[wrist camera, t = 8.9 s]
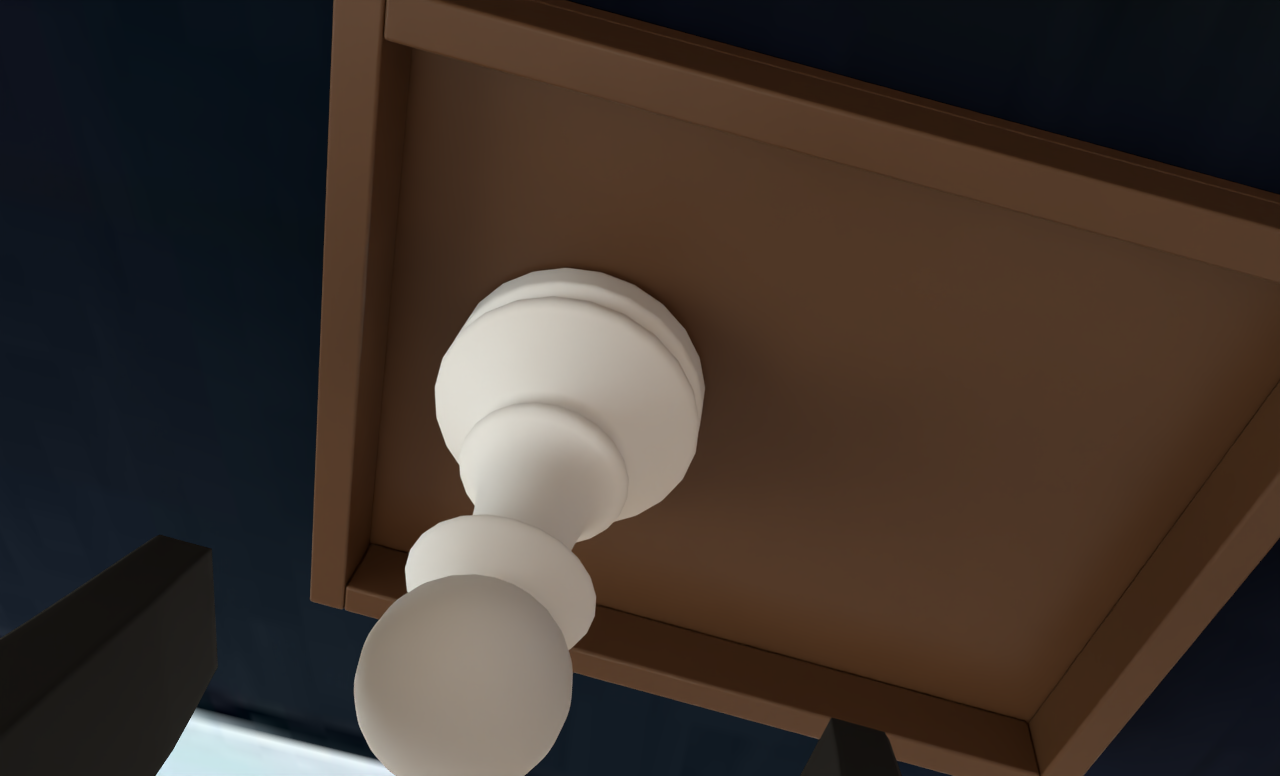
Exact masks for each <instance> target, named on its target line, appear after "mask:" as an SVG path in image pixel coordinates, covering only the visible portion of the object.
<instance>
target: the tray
mask: <svg viewBox="0 0 1280 776" xmlns="http://www.w3.org/2000/svg"><path fill="white" fill-rule="evenodd" d="M560 268H573V269H581V270H588V271H596V272H602V273H605V274H607V275H610V276H613V277H615V278H618V279H620V280H623V281H626V282H628V283H631V284H634V285H635V286H637V287H638V288H640V289H641V290H643V291H644V292H646V293H647V294H649V295H650V296H651V297H653V298H654V299H656V300H657V301H659V302H660V303H662V304H663V305H664V306H665V307H666V308H667V309H668V311H669V312H670V313H671V314H672V315H673V316H674V317H675V318H676V319H677V321H678V322H679V323H680V324H681V325H682V326H683V327H684V328H685V330H686V332H687V334H688V336H689V338H690V340H691V342H692V344H693V346H694V348H695V350H696V352H697V354H698V356H699V358H700V362H701V368H702V374H703V379H704V385H705V392H704V400H703V408H702V415H701V422H700V428H699V432H698V439H697V447H696V453H695V455H694V457H693V459H692V461H691V463H690V465H689V467H688V470H687V472H686V474H685V476H684V478H683V479H682V481H681V482H680V483H679V484H678V485H677V486H676V487H675V488H674V489H673V490H672V491H671V492H670V493H669V494H668V495H667V496H666V497H665V498H664V499H663V500H662V501H661V502H659V503H657V504H656V505H654V506H652V507H650V508H649V509H647V510H645V511H643V512H642V513H640V514H638V515H636V516H633V517H630V518H626V519H623V520H619V521H615V522H613V523H612V524H611V525H610V526H609V527H608V528H607V529H606V530H604V531H603V532H601V533H599V534H597V535H596V536H594V537H592V538H591V539H587V540H583V541H580V542H576V543H575V545H574V546H573V549H572V551H571V552H573V553H574V554H575V555H576V556H577V557H578V558H579V560H580V561H581V563H582V564H583V566H584V568H585V569H586V571H587V572H588V574H589V575H590V577H591V580H592V584H593V587H594V591H595V594H596V607H595V617H594V619H593V621H592V623H591V625H590V627H589V630H588V632H587V633H586V635H585V636H583V637H582V638H581V639H580V640H579V641H578V642H577V643H576V644H575V645H574V646H573V647H572V648H571V649H570V650H569V654H570V657H571V661H572V669H573V672H574V673H578V674H582V675H585V676H589V677H593V678H596V679H600V680H604V681H607V682H611V683H615V684H618V685H622V686H626V687H629V688H633V689H637V690H640V691H644V692H648V693H652V694H655V695H659V696H663V697H666V698H670V699H674V700H677V701H681V702H685V703H688V704H692V705H696V706H699V707H703V708H707V709H710V710H714V711H718V712H721V713H725V714H729V715H732V716H736V717H740V718H743V719H747V720H751V721H754V722H758V723H762V724H765V725H769V726H773V727H776V728H780V729H784V730H787V731H791V732H795V733H798V734H802V735H806V736H809V737H813V738H817V739H820V738H821V736H822V734H823V732H824V730H825V728H826V727H827V725H828V723H829V721H830V719H831V717H832V718H836V719H840V720H843V721H847V722H851V723H854V724H858V725H862V726H865V727H869V728H873V729H877V730H880V731H884V732H885V734H886V735H887V737H888V739H889V740H890V743H891V746H892V749H893V752H894V755H895V758H896V760H898V761H901V762H905V763H909V764H912V765H916V766H920V767H923V768H927V769H931V770H934V771H938V772H942V773H945V774H949V775H953V776H1083V775H1084V774H1085V773H1086V772H1087V771H1088V769H1089V768H1090V767H1091V766H1092V765H1093V763H1094V762H1095V761H1096V760H1097V758H1098V757H1099V756H1100V755H1101V754H1102V752H1103V751H1104V750H1105V749H1106V748H1107V746H1108V745H1109V744H1110V743H1111V742H1112V740H1113V739H1114V738H1115V737H1116V735H1117V734H1118V733H1119V732H1120V731H1121V729H1122V728H1123V727H1124V726H1125V725H1126V723H1127V722H1128V721H1129V720H1130V719H1131V717H1132V716H1133V715H1134V714H1135V712H1136V711H1137V710H1138V709H1139V708H1140V706H1141V705H1142V704H1143V703H1144V702H1145V700H1146V699H1147V698H1148V697H1149V696H1150V694H1151V693H1152V692H1153V691H1154V689H1155V688H1156V687H1157V686H1158V685H1159V683H1160V682H1161V681H1162V680H1163V679H1164V677H1165V676H1166V675H1167V674H1168V673H1169V671H1170V670H1171V669H1172V668H1173V666H1174V665H1175V664H1176V663H1177V662H1178V660H1179V659H1180V658H1181V657H1182V656H1183V654H1184V653H1185V652H1186V651H1187V650H1188V648H1189V647H1190V646H1191V645H1192V643H1193V642H1194V641H1195V640H1196V639H1197V637H1198V636H1199V635H1200V634H1201V633H1202V631H1203V630H1204V629H1205V628H1206V627H1207V625H1208V624H1209V623H1210V622H1211V620H1212V619H1213V618H1214V617H1215V616H1216V614H1217V613H1218V612H1219V611H1220V610H1221V608H1222V607H1223V606H1224V605H1225V604H1226V602H1227V601H1228V600H1229V599H1230V597H1231V596H1232V595H1233V594H1234V593H1235V591H1236V590H1237V589H1238V588H1239V587H1240V585H1241V584H1242V583H1243V582H1244V581H1245V579H1246V578H1247V577H1248V576H1249V574H1250V573H1251V572H1252V571H1253V570H1254V568H1255V567H1256V566H1257V565H1258V564H1259V562H1260V561H1261V560H1262V559H1263V558H1264V556H1265V555H1266V554H1267V553H1268V551H1269V550H1270V549H1271V548H1272V547H1273V545H1274V544H1275V543H1276V542H1277V541H1278V539H1279V538H1280V195H1279V194H1275V193H1271V192H1268V191H1264V190H1260V189H1257V188H1253V187H1249V186H1246V185H1242V184H1238V183H1235V182H1231V181H1227V180H1223V179H1220V178H1216V177H1212V176H1209V175H1205V174H1201V173H1198V172H1194V171H1190V170H1187V169H1183V168H1179V167H1176V166H1172V165H1168V164H1165V163H1161V162H1157V161H1154V160H1150V159H1146V158H1143V157H1139V156H1135V155H1132V154H1128V153H1124V152H1121V151H1117V150H1113V149H1110V148H1106V147H1102V146H1099V145H1095V144H1091V143H1088V142H1084V141H1080V140H1077V139H1073V138H1069V137H1066V136H1062V135H1058V134H1055V133H1051V132H1047V131H1044V130H1040V129H1036V128H1033V127H1029V126H1025V125H1022V124H1018V123H1014V122H1011V121H1007V120H1003V119H1000V118H996V117H992V116H988V115H985V114H981V113H977V112H974V111H970V110H966V109H963V108H959V107H955V106H952V105H948V104H944V103H941V102H937V101H933V100H930V99H926V98H922V97H919V96H915V95H911V94H908V93H904V92H900V91H897V90H893V89H889V88H886V87H882V86H878V85H875V84H871V83H867V82H864V81H860V80H856V79H853V78H849V77H845V76H842V75H838V74H834V73H831V72H827V71H823V70H820V69H816V68H812V67H809V66H805V65H801V64H798V63H794V62H790V61H787V60H783V59H779V58H776V57H772V56H768V55H765V54H761V53H757V52H753V51H750V50H746V49H742V48H739V47H735V46H731V45H728V44H724V43H720V42H717V41H713V40H709V39H706V38H702V37H698V36H695V35H691V34H687V33H684V32H680V31H676V30H673V29H669V28H665V27H662V26H658V25H654V24H651V23H647V22H643V21H640V20H636V19H632V18H629V17H625V16H621V15H618V14H614V13H610V12H607V11H603V10H599V9H596V8H592V7H588V6H585V5H581V4H577V3H574V2H570V1H566V0H334V3H333V28H332V54H331V79H330V105H329V130H328V156H327V181H326V207H325V233H324V258H323V284H322V309H321V335H320V360H319V386H318V411H317V437H316V462H315V488H314V513H313V539H312V564H311V590H310V600H311V601H312V602H316V603H319V604H323V605H327V606H331V607H334V608H338V609H343V608H344V607H345V610H347V611H350V612H354V613H358V614H361V615H365V616H369V617H372V618H376V619H380V618H381V617H382V616H383V614H384V613H385V612H386V610H387V609H388V608H389V607H390V606H391V605H392V604H393V603H394V602H395V601H396V600H397V599H399V598H400V597H402V596H403V595H405V594H406V593H408V592H407V586H406V575H405V566H406V563H407V559H408V556H409V552H410V549H411V548H412V547H413V545H414V544H415V543H416V541H417V540H418V539H419V537H420V536H421V535H422V534H423V533H424V532H426V531H427V530H429V529H430V528H432V527H433V526H435V525H437V524H438V523H440V522H443V521H446V520H449V519H453V518H456V517H459V516H467V515H473V512H474V507H475V505H474V504H473V502H472V501H471V499H470V498H469V496H468V495H467V494H466V491H465V488H464V485H463V482H462V480H461V477H460V465H459V464H458V462H457V461H456V459H455V458H454V456H453V455H452V453H451V452H450V450H449V449H448V447H447V446H446V443H445V440H444V437H443V435H442V432H441V429H440V426H439V423H438V421H437V418H436V402H435V384H436V381H437V377H438V373H439V369H440V365H441V362H442V358H443V357H444V355H445V354H446V352H447V351H448V349H449V348H450V346H451V345H452V343H453V342H454V340H455V338H456V337H457V335H458V334H459V332H460V330H461V329H462V327H463V326H464V324H465V323H466V321H467V320H468V318H469V317H470V315H471V314H472V312H473V311H474V309H475V308H476V306H477V305H478V303H479V302H480V301H482V300H483V299H484V298H485V297H487V296H488V295H489V294H490V293H492V292H493V291H494V290H496V289H497V288H498V287H499V286H501V285H502V284H503V283H506V282H508V281H511V280H513V279H516V278H518V277H521V276H523V275H526V274H528V273H531V272H534V271H542V270H551V269H560Z"/></svg>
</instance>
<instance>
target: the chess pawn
mask: <svg viewBox="0 0 1280 776" xmlns="http://www.w3.org/2000/svg"><path fill="white" fill-rule="evenodd" d="M704 392H705V385H704V379H703V374H702V368H701V362H700V358H699V356H698V354H697V352H696V350H695V348H694V346H693V344H692V342H691V340H690V338H689V336H688V334H687V332H686V330H685V328H684V327H683V326H682V325H681V324H680V323H679V322H678V321H677V319H676V318H675V317H674V316H673V315H672V314H671V313H670V312H669V311H668V309H667V308H666V307H665V306H664V305H663V304H662V303H660V302H659V301H657V300H656V299H654V298H653V297H651V296H650V295H649V294H647V293H646V292H644V291H643V290H641V289H640V288H638V287H637V286H635V285H634V284H631V283H628V282H626V281H623V280H620V279H618V278H615V277H613V276H610V275H607V274H605V273H602V272H596V271H588V270H581V269H573V268H560V269H551V270H542V271H534V272H531V273H528V274H526V275H523V276H521V277H518V278H516V279H513V280H511V281H508V282H506V283H503V284H502V285H501V286H499V287H498V288H497V289H496V290H494V291H493V292H492V293H490V294H489V295H488V296H487V297H485V298H484V299H483V300H482V301H480V302H479V303H478V305H477V306H476V308H475V309H474V311H473V312H472V314H471V315H470V317H469V318H468V320H467V321H466V323H465V324H464V326H463V327H462V329H461V330H460V332H459V334H458V335H457V337H456V338H455V340H454V342H453V343H452V345H451V346H450V348H449V349H448V351H447V352H446V354H445V355H444V357H443V358H442V362H441V365H440V369H439V373H438V377H437V381H436V384H435V402H436V418H437V421H438V423H439V426H440V429H441V432H442V435H443V437H444V440H445V443H446V446H447V447H448V449H449V450H450V452H451V453H452V455H453V456H454V458H455V459H456V461H457V462H458V464H459V465H460V477H461V480H462V482H463V485H464V488H465V491H466V494H467V495H468V496H469V498H470V499H471V501H472V502H473V504H474V505H475V507H474V512H473V515H467V516H459V517H456V518H453V519H449V520H446V521H443V522H440V523H438V524H437V525H435V526H433V527H432V528H430V529H429V530H427V531H426V532H424V533H423V534H422V535H421V536H420V537H419V539H418V540H417V541H416V543H415V544H414V545H413V547H412V548H411V549H410V552H409V556H408V559H407V563H406V566H405V575H406V586H407V592H408V593H406V594H405V595H403V596H402V597H400V598H399V599H397V600H396V601H395V602H394V603H393V604H392V605H391V606H390V607H389V608H388V609H387V610H386V612H385V613H384V614H383V616H382V617H381V618H380V619H379V621H378V622H377V623H376V624H375V626H374V627H373V629H372V630H371V632H370V633H369V635H368V637H367V639H366V641H365V643H364V646H363V648H362V652H361V656H360V659H359V663H358V667H357V671H356V675H355V681H354V698H355V706H356V713H357V719H358V723H359V726H360V729H361V731H362V733H363V735H364V737H365V739H366V741H367V743H368V745H369V747H370V749H371V751H372V752H373V754H374V755H375V756H376V757H377V758H378V759H379V760H380V761H381V763H382V764H383V765H384V766H385V767H386V768H387V769H388V770H389V771H390V772H392V773H393V774H394V775H396V776H524V775H526V774H527V773H528V772H529V771H530V770H531V769H532V768H533V767H535V766H536V765H537V764H538V763H539V762H540V761H541V760H542V759H543V758H544V757H545V756H546V754H547V753H548V752H549V751H550V749H551V748H552V746H553V744H554V743H555V741H556V739H557V737H558V735H559V732H560V730H561V728H562V726H563V724H564V722H565V720H566V717H567V715H568V712H569V708H570V704H571V696H572V673H573V669H572V661H571V657H570V654H569V650H570V649H571V648H572V647H573V646H574V645H575V644H576V643H577V642H578V641H579V640H580V639H581V638H582V637H583V636H585V635H586V633H587V632H588V630H589V627H590V625H591V623H592V621H593V619H594V617H595V607H596V594H595V591H594V587H593V584H592V580H591V577H590V575H589V574H588V572H587V571H586V569H585V568H584V566H583V564H582V563H581V561H580V560H579V558H578V557H577V556H576V555H575V554H574V553H573V552H571V551H572V549H573V546H574V545H575V543H576V542H580V541H583V540H587V539H591V538H592V537H594V536H596V535H597V534H599V533H601V532H603V531H604V530H606V529H607V528H608V527H609V526H610V525H611V524H612V523H613V522H615V521H619V520H623V519H626V518H630V517H633V516H636V515H638V514H640V513H642V512H643V511H645V510H647V509H649V508H650V507H652V506H654V505H656V504H657V503H659V502H661V501H662V500H663V499H664V498H665V497H666V496H667V495H668V494H669V493H670V492H671V491H672V490H673V489H674V488H675V487H676V486H677V485H678V484H679V483H680V482H681V481H682V479H683V478H684V476H685V474H686V472H687V470H688V467H689V465H690V463H691V461H692V459H693V457H694V455H695V453H696V447H697V439H698V432H699V428H700V422H701V415H702V408H703V400H704Z"/></svg>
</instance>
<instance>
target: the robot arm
mask: <svg viewBox="0 0 1280 776" xmlns="http://www.w3.org/2000/svg"><path fill="white" fill-rule="evenodd" d="M217 667H218V663H217V643H216V624H215V605H214V585H213V566H212V549H210V548H207V547H203V546H199V545H196V544H192V543H188V542H185V541H181V540H177V539H173V538H170V537H166V536H162V535H158V536H156V537H154V538H153V539H151V540H149V541H148V542H146V543H145V544H143V545H142V546H140V547H139V548H137V549H136V550H134V551H132V552H131V553H129V554H128V555H126V556H125V557H123V558H122V559H120V560H119V561H118V562H116V563H115V564H113V565H112V566H110V567H109V568H107V569H106V570H104V571H103V572H101V573H100V574H98V575H97V576H95V577H94V578H92V579H91V580H89V581H88V582H86V583H85V584H83V585H82V586H80V587H79V588H77V589H76V590H74V591H73V592H71V593H70V594H68V595H67V596H65V597H64V598H62V599H61V600H59V601H58V602H56V603H55V604H53V605H51V606H50V607H48V608H47V609H45V610H44V611H42V612H41V613H39V614H38V615H36V616H35V617H33V618H32V619H30V620H29V621H27V622H26V623H24V624H22V625H21V626H19V627H18V628H16V629H14V630H13V631H11V632H10V633H8V634H7V635H5V636H3V637H2V638H0V776H156V774H157V773H158V771H159V770H160V768H161V767H162V765H163V764H164V762H165V761H166V759H167V758H168V756H169V755H170V754H171V752H172V751H173V749H174V747H175V745H176V743H177V742H178V740H179V738H180V736H181V734H182V733H183V731H184V729H185V727H186V725H187V724H188V722H189V720H190V718H191V716H192V715H193V713H194V711H195V709H196V707H197V705H198V703H199V701H200V699H201V697H202V696H203V694H204V692H205V690H206V688H207V686H208V684H209V682H210V680H211V678H212V676H213V675H214V673H215V671H216V669H217ZM800 776H902V775H901V772H900V769H899V766H898V763H897V761H896V758H895V755H894V752H893V749H892V746H891V743H890V740H889V739H888V737H887V735H886V734H885V732H884V731H880V730H877V729H873V728H869V727H865V726H862V725H858V724H854V723H851V722H847V721H843V720H840V719H836V718H832V717H831V719H830V721H829V723H828V725H827V727H826V728H825V730H824V732H823V734H822V736H821V738H820V740H819V742H818V743H817V745H816V747H815V749H814V751H813V753H812V755H811V757H810V759H809V760H808V762H807V764H806V766H805V768H804V770H803V772H802V774H801V775H800Z"/></svg>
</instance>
